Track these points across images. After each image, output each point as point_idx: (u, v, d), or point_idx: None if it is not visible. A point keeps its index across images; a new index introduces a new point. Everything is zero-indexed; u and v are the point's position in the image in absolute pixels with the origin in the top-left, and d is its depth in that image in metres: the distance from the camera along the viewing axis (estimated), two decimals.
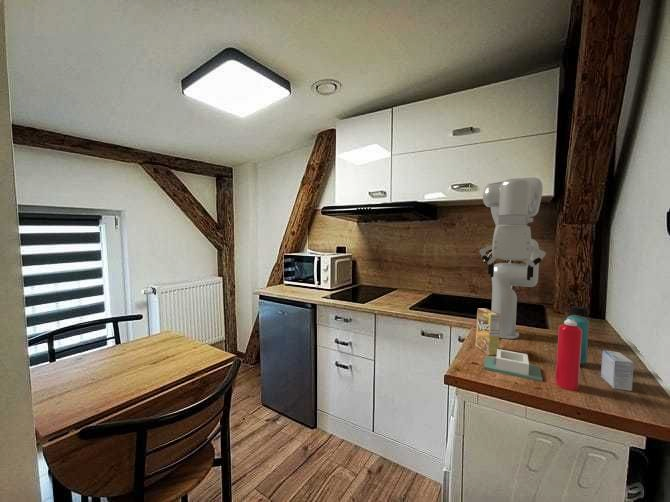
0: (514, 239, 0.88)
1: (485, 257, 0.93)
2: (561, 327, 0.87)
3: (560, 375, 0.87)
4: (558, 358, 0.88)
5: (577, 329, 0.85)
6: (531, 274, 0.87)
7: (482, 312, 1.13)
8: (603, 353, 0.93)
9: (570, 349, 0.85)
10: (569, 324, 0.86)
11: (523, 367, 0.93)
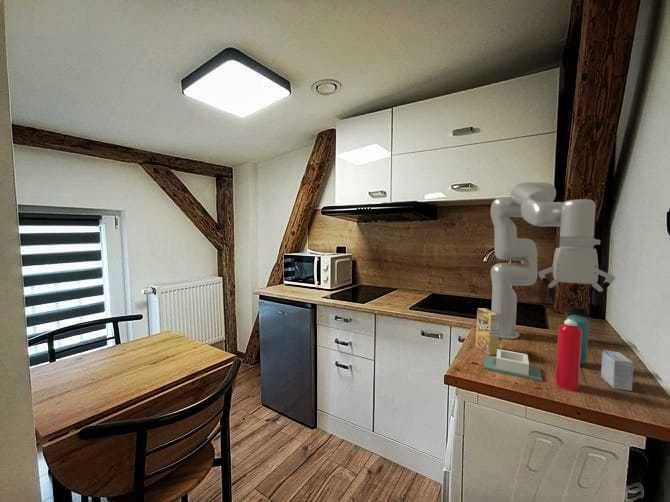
0: (580, 262, 0.83)
1: (545, 280, 0.89)
2: (561, 327, 0.87)
3: (560, 375, 0.87)
4: (558, 358, 0.88)
5: (577, 329, 0.85)
6: (598, 299, 0.83)
7: (482, 312, 1.13)
8: (603, 353, 0.93)
9: (570, 349, 0.85)
10: (569, 324, 0.86)
11: (523, 367, 0.93)
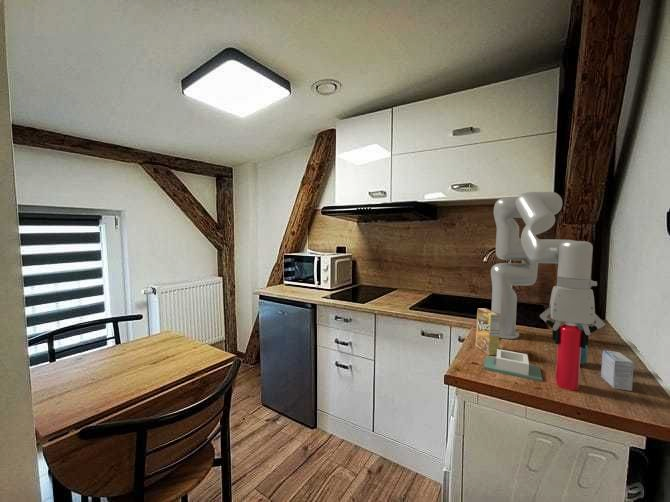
0: (577, 303, 0.84)
1: (549, 322, 0.89)
2: (561, 327, 0.87)
3: (560, 375, 0.87)
4: (558, 358, 0.88)
5: (577, 329, 0.85)
6: (586, 342, 0.85)
7: (482, 312, 1.13)
8: (603, 353, 0.93)
9: (570, 349, 0.85)
10: (569, 324, 0.86)
11: (523, 367, 0.93)
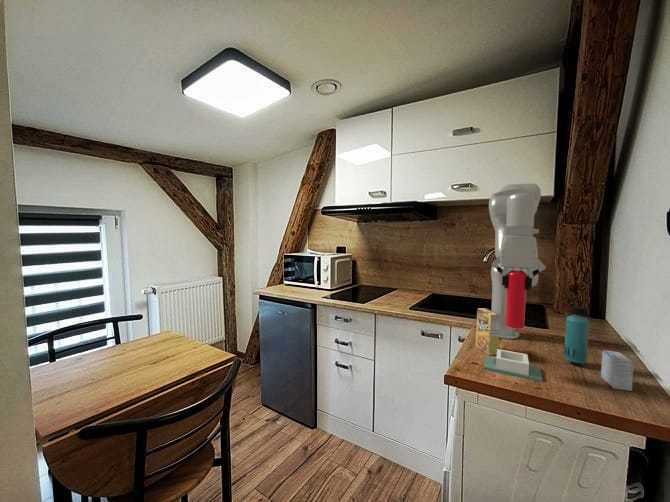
0: (521, 249, 0.94)
1: (499, 269, 0.98)
2: (509, 272, 0.97)
3: (508, 316, 0.97)
4: (506, 301, 0.97)
5: (522, 273, 0.94)
6: (530, 284, 0.94)
7: (482, 312, 1.13)
8: (603, 353, 0.93)
9: (516, 291, 0.95)
10: (515, 269, 0.95)
11: (523, 367, 0.93)
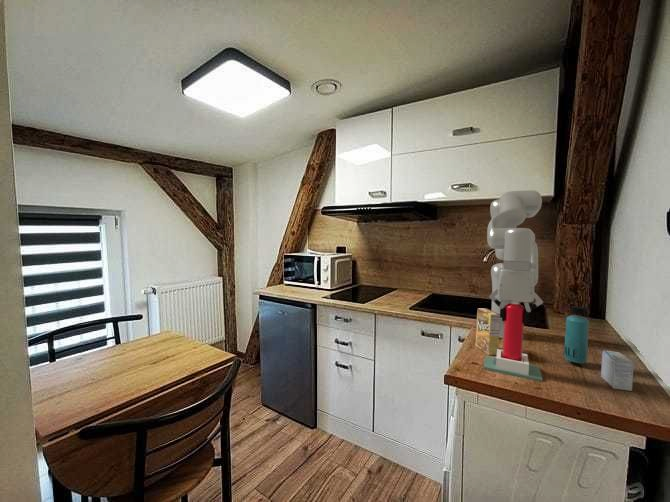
0: (519, 283, 0.94)
1: (497, 301, 0.99)
2: (506, 305, 0.97)
3: (506, 349, 0.97)
4: (504, 333, 0.98)
5: (519, 307, 0.95)
6: (527, 318, 0.95)
7: (482, 312, 1.13)
8: (603, 353, 0.93)
9: (513, 325, 0.95)
10: (513, 302, 0.96)
11: (523, 367, 0.93)
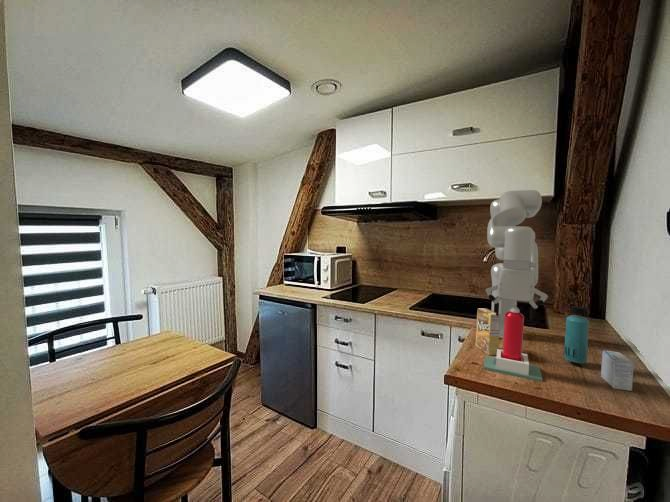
0: (519, 282, 0.95)
1: (491, 297, 1.00)
2: (506, 314, 0.98)
3: (505, 357, 0.98)
4: (504, 341, 0.99)
5: (519, 315, 0.95)
6: (534, 315, 0.95)
7: (482, 312, 1.13)
8: (603, 353, 0.93)
9: (513, 333, 0.96)
10: (512, 311, 0.97)
11: (523, 367, 0.93)
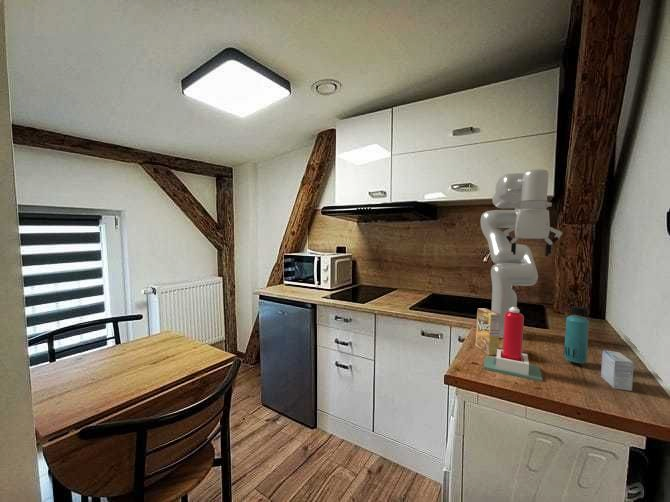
0: (535, 221, 1.02)
1: (508, 237, 1.08)
2: (506, 314, 0.98)
3: (505, 357, 0.98)
4: (504, 342, 0.99)
5: (518, 315, 0.95)
6: (549, 251, 1.02)
7: (482, 312, 1.13)
8: (603, 353, 0.93)
9: (513, 333, 0.96)
10: (512, 311, 0.97)
11: (523, 367, 0.93)
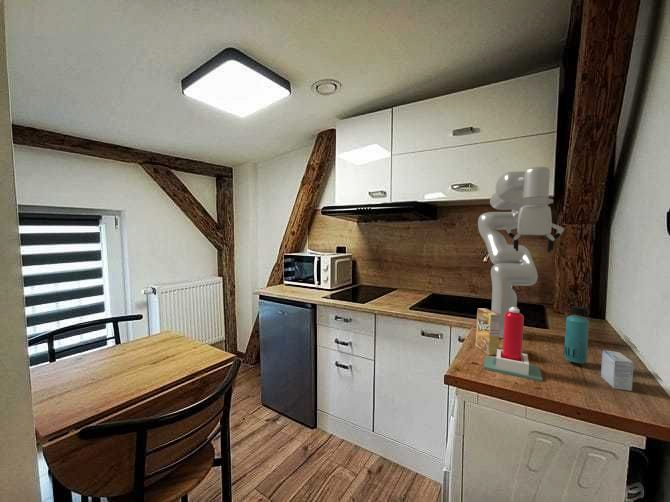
0: (537, 217, 1.03)
1: (511, 234, 1.09)
2: (506, 314, 0.98)
3: (505, 357, 0.98)
4: (504, 342, 0.99)
5: (518, 315, 0.95)
6: (551, 247, 1.03)
7: (482, 312, 1.13)
8: (603, 353, 0.93)
9: (513, 333, 0.96)
10: (512, 311, 0.97)
11: (523, 367, 0.93)
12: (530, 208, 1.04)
